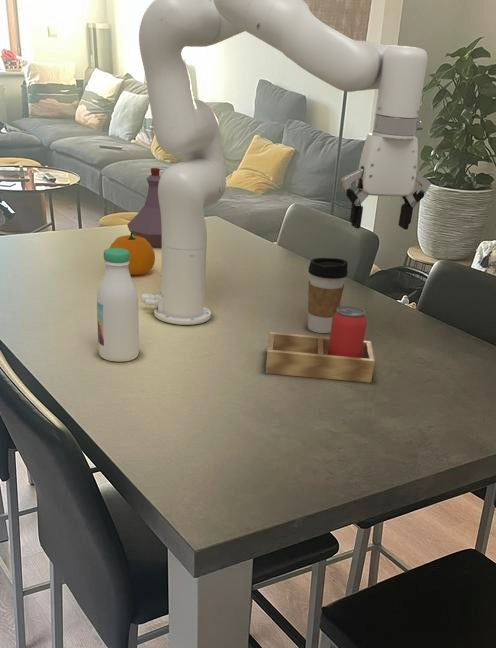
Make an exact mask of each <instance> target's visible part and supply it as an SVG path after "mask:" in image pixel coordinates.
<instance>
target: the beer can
mask: <svg viewBox="0 0 496 648" xmlns="http://www.w3.org/2000/svg"><path fill="white" fill-rule="evenodd" d="M366 328H367V318H366V310H364V309H363V308H361V307H357V306H352V305H341V306H339V307H338V308H337V309H336V312H335V314H334V316H333V319H332V325H331V332H330V333H329V337H330V340H329V347H328V355H334V356H345V357H356V358H361V355H362V349H363V342H364V341H365V336H366Z"/></svg>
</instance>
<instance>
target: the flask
mask: <svg viewBox="0 0 496 648" xmlns="http://www.w3.org/2000/svg"><path fill="white" fill-rule="evenodd" d="M160 171H161V169H160V168H158V167H150V175H149V176H148V177H146V181H147V184H148V189H147V190H148V191H147V195H146V198H145V203H144V205H143V206H142V207H141V209H140V210H139V212H138V213H137V214H136V215H135V216H134V217H133V218H132V219H131V220H130V221H129V222H128V223H127V228H128V231H129V232H130V233H131V232H133V234H132V235H134V236H139V237H142V238H144V239H146V240H147V241H148V242H149V243H150V245H151V246H152V248H162V225H161V212H160V206H159V199H158V184H159V180H160V178H161V175H160Z"/></svg>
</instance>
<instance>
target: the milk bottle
mask: <svg viewBox="0 0 496 648" xmlns="http://www.w3.org/2000/svg"><path fill="white" fill-rule="evenodd" d="M103 263H104V266H105V267H104V272H103V275H102V278H101V280H100V283H99V285H98V288H97V295H96V321H97V323H96V324H97V344H98V345H97V346H98V347H97V349H98V354H99V356H100V357H101V358H102V359H104V360H106V361H110V362H116V363H117V362H119V363H120V362H121V363H122V362H129V361H132V360H135V359H136V358H137V357H138V355H139V353H140V352H139V351H140V327H139V320H140V319H139V296H138V290H137V288H136V285H135V283H134V281H133V279H132V275H130V273H129V269H128V264H129V251H128V250H126V249H121V248H110V247H109V248H106V249H104V250H103Z"/></svg>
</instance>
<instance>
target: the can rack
mask: <svg viewBox="0 0 496 648" xmlns="http://www.w3.org/2000/svg"><path fill="white" fill-rule="evenodd" d="M329 340H330V336H320V335H319V336H318V335H309V334H307V335H306V334H299V333H298V334H297V333H286V332H274V331H269V332H268V341H267V351H266V362H265V374H271V375H281V376H292V377H303V378H315V379H323V380H324V379H326V380H335V381H345V382H347V381H348V382H358V383H359V382H360V383H369V384H371V383H372V379H373V373H374V369H375V362H376V361H375V355H374V350H373V345H372V341H371V340H364V342H363V349H362V355H361V358H356V357H345V356H334V355H328V347H329Z"/></svg>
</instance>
